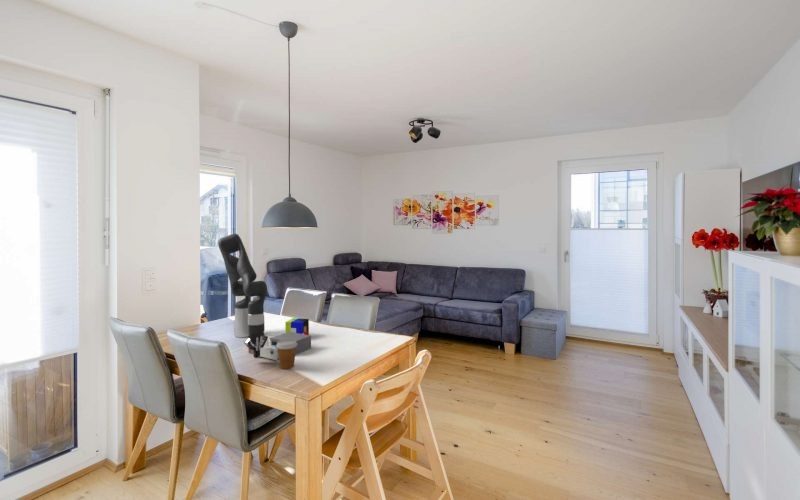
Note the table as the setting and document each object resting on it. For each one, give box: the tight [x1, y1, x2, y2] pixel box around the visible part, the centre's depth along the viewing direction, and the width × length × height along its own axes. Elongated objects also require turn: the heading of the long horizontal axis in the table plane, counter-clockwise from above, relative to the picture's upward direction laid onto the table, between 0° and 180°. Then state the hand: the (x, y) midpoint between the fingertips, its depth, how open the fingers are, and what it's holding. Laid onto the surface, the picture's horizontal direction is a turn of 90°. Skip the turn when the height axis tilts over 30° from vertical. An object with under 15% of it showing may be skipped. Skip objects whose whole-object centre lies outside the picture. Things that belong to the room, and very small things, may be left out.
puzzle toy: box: [285, 317, 310, 335], centre depth 237 cm, size 10×10×10 cm
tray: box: [260, 344, 279, 361], centre depth 203 cm, size 15×14×5 cm
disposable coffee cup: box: [276, 339, 297, 370], centre depth 187 cm, size 10×10×12 cm
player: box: [269, 332, 312, 356], centre depth 213 cm, size 16×14×7 cm
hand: (256, 357), depth 193 cm, fingers closed
